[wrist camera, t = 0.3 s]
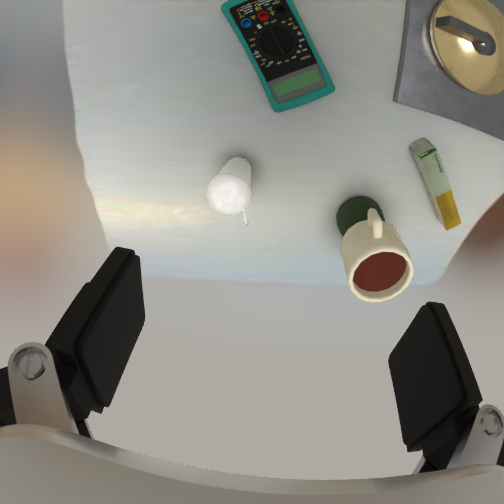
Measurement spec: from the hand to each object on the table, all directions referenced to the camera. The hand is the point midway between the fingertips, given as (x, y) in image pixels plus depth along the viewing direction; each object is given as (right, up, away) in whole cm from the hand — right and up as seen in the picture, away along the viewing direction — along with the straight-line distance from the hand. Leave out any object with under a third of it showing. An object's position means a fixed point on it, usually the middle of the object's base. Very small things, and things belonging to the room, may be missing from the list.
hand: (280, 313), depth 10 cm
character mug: (+13, +7, +31) cm, 34 cm away
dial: (+25, +27, +13) cm, 39 cm away
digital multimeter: (+2, +25, +20) cm, 32 cm away
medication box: (+23, +12, +27) cm, 37 cm away
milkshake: (-2, +12, +29) cm, 31 cm away
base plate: (+25, +28, +15) cm, 40 cm away
